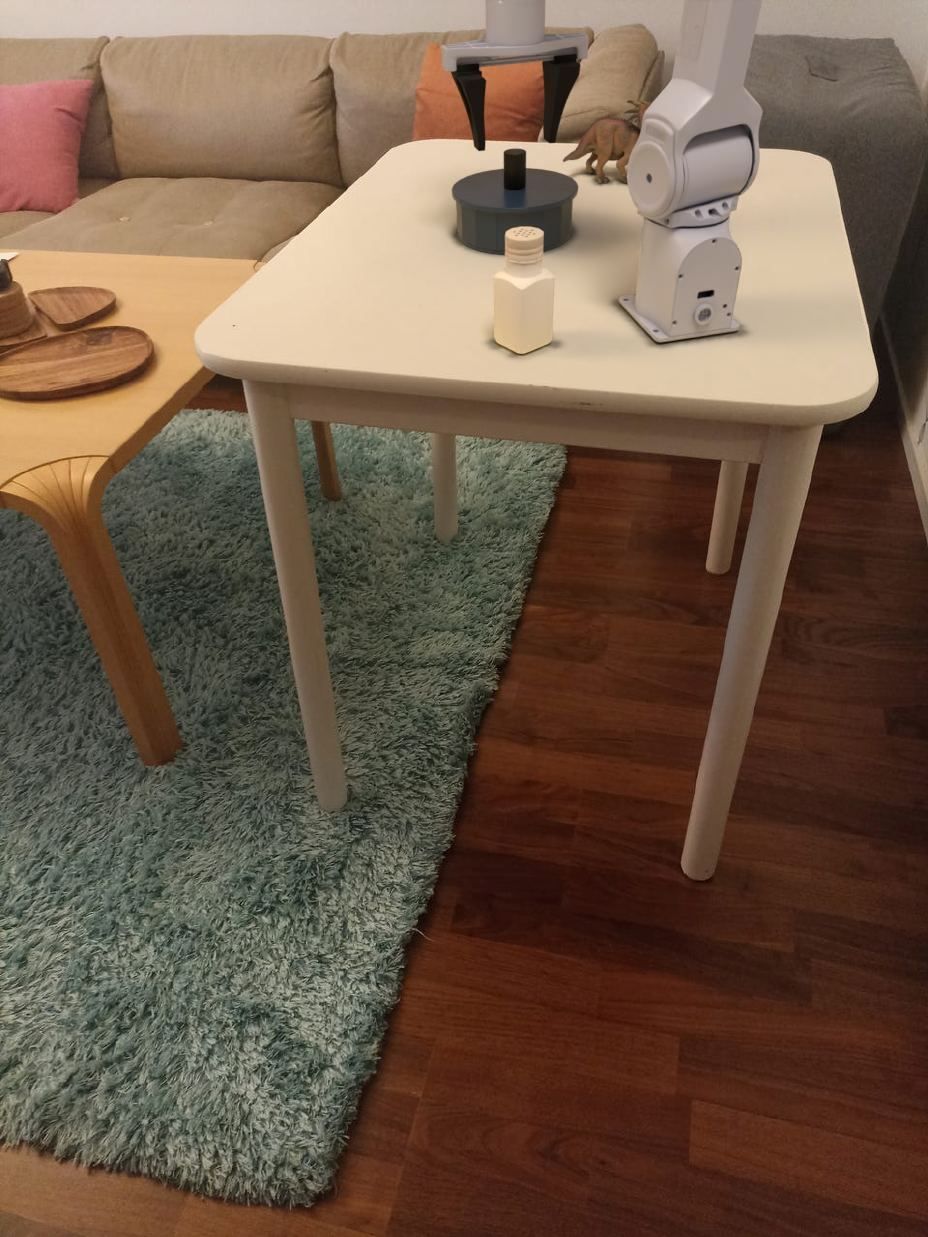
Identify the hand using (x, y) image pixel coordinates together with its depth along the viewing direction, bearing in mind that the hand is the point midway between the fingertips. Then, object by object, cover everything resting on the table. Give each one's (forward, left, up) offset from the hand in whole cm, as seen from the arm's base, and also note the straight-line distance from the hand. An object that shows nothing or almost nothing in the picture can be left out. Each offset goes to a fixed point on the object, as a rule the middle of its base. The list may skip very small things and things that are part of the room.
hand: (514, 144), depth 90 cm
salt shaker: (-27, +7, -9) cm, 29 cm away
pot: (0, 0, -9) cm, 9 cm away
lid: (0, 0, -5) cm, 5 cm away
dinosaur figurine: (+15, -18, -9) cm, 25 cm away
